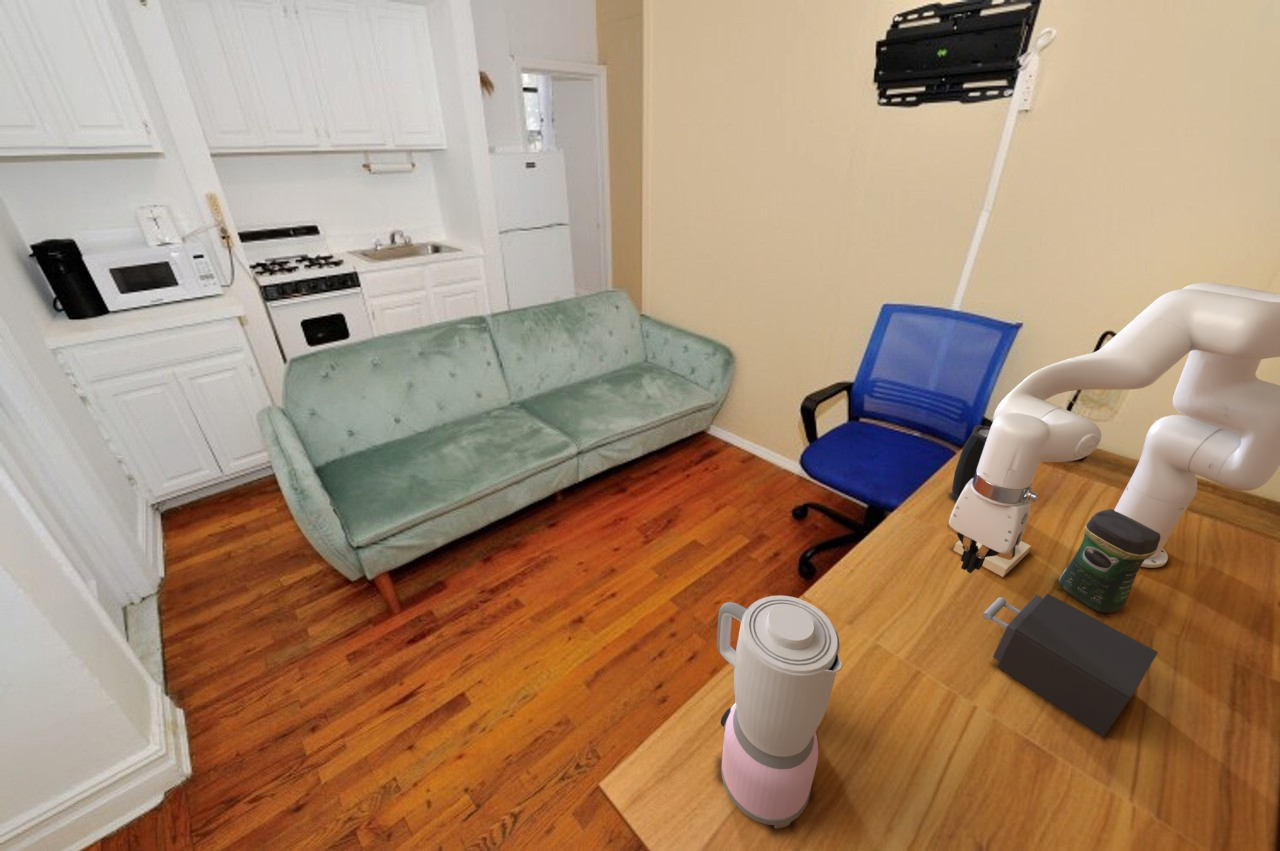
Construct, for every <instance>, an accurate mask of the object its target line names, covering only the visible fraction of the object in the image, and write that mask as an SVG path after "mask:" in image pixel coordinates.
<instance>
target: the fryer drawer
mask: <svg viewBox="0 0 1280 851" xmlns="http://www.w3.org/2000/svg"><path fill="white" fill-rule="evenodd" d="M1043 598H1044V597H1042V596H1040V595H1038V594H1035V595H1034V596H1033V597H1032V598H1031V599H1030V601H1029V602H1028V603H1027V604H1026V605H1025V606H1024V607H1023V608H1022V609H1019V608H1017V607H1015V606H1013V605H1012V604H1010V603H1008V602H1007V600H1006V599H1005V598H1004V597H1003V596H1000V597H998V598H996V600H994V602H992V603H991V604H990V606H988V607H987V609H985V610H984V611H983V613H982V617H983V619H985V620H987V621H993V622H994V623H996V624H998V625H1000V626H1001V627H1003V628H1004V632H1003V634H1002V636H1001V638H1000V640H999V643H998V645H997V647H996V649H995V651H994V653H993V655H992V658H994V659H996V660H997V661H999V662H1000V660H1001V658H1002V656H1003V654H1004V652H1005V650H1006V648H1007V646H1008V644H1009V641H1010V639H1011V637H1012V635H1013V633H1014V631H1015V629H1016V628H1017V627H1018V625H1019V624H1020V623H1021V622H1022V621H1023V620H1024V619H1025V618H1026V617H1027V615H1028V614H1029V613H1030V612H1031V611H1032V610H1033V609H1034V608H1035V607H1036V606H1037V604H1038V603H1039V602H1040V601H1041V600H1042V599H1043ZM1003 608H1006V609H1008V610H1010V611H1012V613H1015V614H1017V615H1016V616H1014V618H1012V620H1011V621H1010V622H1009V623H1007V622H1005V621H1003V620H1002V619H1000V618H998V617H997V616H996V615H997V614H998V613H999V612H1000V611H1001V610H1002V609H1003Z"/></svg>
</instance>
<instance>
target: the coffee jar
mask: <svg viewBox="0 0 1280 851" xmlns="http://www.w3.org/2000/svg"><path fill="white" fill-rule="evenodd" d="M1160 537H1161V536H1160V534H1159V533H1158V532H1156V531H1154V530H1152V529H1151V528H1149V527H1147V526H1145V525H1143V524H1141V523H1139V522H1137V521H1135V520H1133V519H1131V518H1129V517H1127V516H1125V515H1123V514H1121V513H1118V512H1116V511H1115V510H1114V509H1113V508H1109V509H1104V510H1100V511H1097V512H1095V513H1094V514H1093V516H1091V518H1090V519H1089V521H1088V522H1087V523H1086V524H1085V526H1084V536H1083V539H1082V542H1081V544H1080V546H1079V547H1078V550H1077V552H1076V553H1075V554H1074V556H1073V558H1072V559H1071V560H1070V562H1069V564H1068V565H1067V566H1066V568H1065V569H1064V571H1063V572H1062V573H1061V575H1060V577H1059V580H1058V585H1059V587H1060V588H1061V589H1062V590H1063V591H1064V592H1065V593H1066V594H1068V595H1069V596H1070V597H1071V598H1073V599H1074V600H1076V601H1078V602H1079V603H1080V604H1082V605H1084V607H1087V608H1088V609H1090V610H1092V611H1094V612H1096V613H1102V614H1112V613H1116V612H1118V611H1120V610H1122V609H1123V608H1124V606H1125V604H1126V603H1127V600H1128V598H1129V595H1130V592H1131V590H1132V587H1133V584H1134V581H1135V579H1136V577H1137V575H1138V572H1139V570H1140V568H1141V567H1140V566H1141V565H1142V563H1143V562H1144V560H1145V559H1147V558H1149V557H1150V556H1152V555H1153V554H1154V553H1155V552H1156V550H1157V547H1158V544H1159V541H1160Z"/></svg>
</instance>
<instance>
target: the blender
mask: <svg viewBox="0 0 1280 851" xmlns="http://www.w3.org/2000/svg"><path fill="white" fill-rule="evenodd" d="M718 611H719V613H718V618H717V632H716V633H717V634H716V645H717V646H716V647H717V650H718V652H719V654H720V655H721V657H722V658H723V659H724V660H725V661H726V662H728V664H730V665H731V666H732V667H733V692H734V700H735V703H734V704H733V705H732V706H731V707H728V708H727V709H726V710H725V711H724V713H723V714H722V716H721V719H720V725H721V726H722V727H723V732H724V735H723V744H722V757H721V765H720V766H721V767H720V771H721V779H722V783H723V786H724V789H725V791H726V793H727V795H728V797H729V798H730V800H731V802H732V803H733V804H734V805H735V806H736V808H737V809H738V810H739V811H740V812H741V813H742V814H744V815H745V816H747V817H748V818H750V819H752V820H753V821H756V822H758V823H760V824H764V825H768V826H773V827H774V829H782V828H786V827H789V826H790V825H791V823H792V822H793V821H795V820H796V819H798V818H799V817H800V816H801V814H803V812H804V811H805V809H806V807H807V805H808V803H809V800H810V798H811V797H810V796H811V792H812V785H813V781H814V778H815V773H816V770H817V765H818V760H819V742H818V737H817V733H816V732H817V729H818V728H819V726H820V724H821V723H822V720H823V719H824V716H825V714H826V712H827V709H828V707H829V705H830V704H829V703H830V700H831V696H832V691H833V687H834V684H835V680H836V675H837V672H839V671H842V667H843V663H842V661H841V659H840V650H841V649H840V648H841V641H840V636H839V634H838V631H837V629H836V627H835V625H834V623H833V622H832V621H831V620H830V618H829V617H828V616H827V615H826V613H824V612H823V611H821V610H820V609H819V608H818V607H816V606H815V605H813V604H812V603H810V602H808V601H806V600H803V599H801V598H798V597H794V596H790V595H780V594H779V595H770V596H765V597H762V598H759V599H758V600H756V601H754V602H753V603H751V604H749V607H747V608H746V607H744V606H742V605H741V604H739V603H737V602H734V601H729V602H724V603H723V604H722V605H721V606H720V608H719V610H718ZM733 618H734V619H735V620H737V621H738V622H740V627H739V632H738V637H737V642H736V648H735V649H734V648H733V647H732V646H731V631H732V623H733V622H732V621H733Z"/></svg>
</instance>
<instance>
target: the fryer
mask: <svg viewBox="0 0 1280 851" xmlns="http://www.w3.org/2000/svg"><path fill="white" fill-rule="evenodd" d="M1042 598H1043V599H1042V600H1041V601H1040V602H1039V603H1038V604H1037V606H1036V607H1035V608H1034V609H1033V610H1032V611H1031V612H1030V613H1029V614H1028V615H1027V617H1026V618H1025V619H1024V620H1023V621H1022V622H1021V623H1020V624H1019V625H1018V627H1017V628H1016V629H1015V631H1014V633H1013V635H1012V637H1011V639H1010V641H1009V644H1008V646H1007V648H1006V650H1005V652H1004V654H1003V656H1002V658H1001V660H1000V661H999V662H998V664H997V668H998V669H999V670H1001V671H1002V672H1004V673H1005V674H1007V675H1009V676H1010V677H1011V678H1013V679H1014V680H1016V681H1018V682H1019V683H1020V684H1022V685H1024V686H1025V687H1026V688H1028V689H1029V690H1031V691H1032V692H1034V693H1036V694H1037V695H1038V696H1039V697H1041V698H1044V699H1045V701H1047V702H1048V703H1051V704H1052V705H1053V706H1055V707H1056V708H1058V709H1059V710H1061V711H1062V712H1064V713H1066V714H1067V715H1069V716H1070V717H1072V718H1073V719H1075V720H1076V721H1078V722H1079V723H1081V724H1082V725H1084V726H1085V727H1086V728H1088V729H1090V730H1091V731H1093V732H1094V733H1096V734H1098V736H1100V737H1102V738H1104V737H1105V736H1106V734H1107V733H1108V732H1109V730H1110V729H1111V728H1112V726H1113V724H1114V723H1115V722H1116V720H1117V719H1118V717H1119V716H1120V714H1121V713H1122V712H1123V710H1124V709H1125V708H1126V706H1127V704H1128V703H1129V702H1130V700H1131V699H1132V698H1133V696H1134V694H1135V693H1136V691H1137V689H1138V688H1139V686H1140V684H1141V682H1142V680H1143V678H1145V675H1146V674H1147V672H1148V670H1149V669H1150V667H1151V665H1152V663H1153V662H1154V661H1155V658H1156V656H1157V655H1158V653H1159V651H1158V650H1155V649H1154V648H1151V647H1150V646H1148V645H1146V644H1144V643H1142V642H1140V641H1138V640H1136V639H1134V638H1133V637H1131V636H1129V635H1127V634H1126V633H1123V632H1122V631H1119V630H1118V629H1116V628H1114V627H1112V626H1110V625H1108V624H1107V623H1105V622H1102V621H1100V620H1098V619H1097V618H1095V617H1093V616H1091V615H1090V614H1088V613H1085V612H1083V611H1082V610H1080V609H1079V608H1076V607H1074V606H1072V605H1071V604H1068V603H1067V602H1065V601H1062V600H1061V599H1060V598H1057V597H1055V596H1053V595H1052V594H1049V593H1047V594H1045V595H1044V596H1043V597H1042Z"/></svg>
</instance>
